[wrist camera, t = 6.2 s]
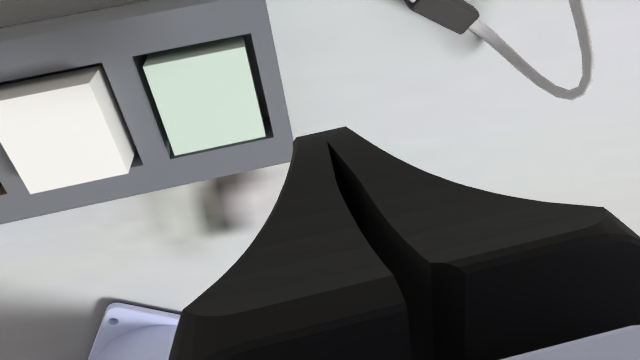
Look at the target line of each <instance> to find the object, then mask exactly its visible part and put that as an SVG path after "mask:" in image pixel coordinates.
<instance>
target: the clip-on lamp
mask: <svg viewBox="0 0 640 360" xmlns="http://www.w3.org/2000/svg"><path fill="white" fill-rule="evenodd" d="M404 1H405V4H406V5H407V6H408V7H409V9H411V10H412V11H414V12H416V13H418V14H420V15H422V16H424V17H426V18H428V19H430V20H432V21H434V22H436V23H438V24H440V25H442V26H444V27H446V28H448V29H450V30H452V31H454V32H456V33H458V34H463V33H464V32H465V31H466V30H467V29H469V30H471V31H473V32H474V33H475V34H477V35H478V36H480V37H481V38H482V39H484V40H485V41H486V42H487V43H488V44H489V45H491V46H492V47H493V48H494V49H495V50H496V51H497V52H499V53H500V54H501V55H502V56H503V57H504V58H505V59H506V60H507V61H509V62H510V63H511V64H512V65H513V66H514V67H515V68H516V69H517V70H519V71H520V72H521V73H522V74H524V75H525V76H526V77H527V78H529V79H530V80H531V81H532V82H533V83H535V84H536V85H537V86H539V87H540V88H542V89H544V90H545V91H547V92H549V93H550V94H552V95H554V96H555V97H559V98H564V99H569V100H574V99H577V98H579V97H581V96H583V95H585V94H586V92H587V90H588V89H589V87H590V85H591V83H592V81H593V69H594V55H593V49H592V42H591V36H590V30H589V26H588V22H587V18H586V14H585V10H584V6H583V2H582V0H569V3H570V7H571V11H572V15H573V18H574V22H575V26H576V30H577V34H578V39H579V44H580V48H581V53H582V70H583V75H582V78H581V81H580V83H579V86H578V87H576V88H574V89H571V90H567V89H564V88H561V87H558V86H556V85H554V84H553V83H552V82H550V81H549V80H547V79H546V78H545V77H543V76H542V75H540V74H539V73H538V72H537V71H536V70H535V69H534V68H532V67H531V66H530V65H529V64H528V63H527V62H526V61H525V60H524V59H522V58H521V57H520V56H519V55H518V54H517V53H516V52H515V51H514V50H513V49H512V48H511V47H510V46H509V45H508V44H507V43H506V42H505V41H504V40H503V39H501V38H500V37H499V36H498V35H497V34H496V33H495V32H494V31H493V30H492V29H491V28H489V27H488V26H487V25H485V24H484V23H483V22H482V21H480V20H479V19H478V18H479V13H478V11H477V10H476V9H475V8H474V7H473V6H472V5H470V4H468V3H467V2H465V1H464V0H404Z"/></svg>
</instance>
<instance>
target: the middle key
mask: <svg viewBox="0 0 640 360" xmlns="http://www.w3.org/2000/svg"><path fill="white" fill-rule="evenodd" d="M0 143H1V144H2V146H3V148H4V150H5V151H6V153H7V155H8V156H9V158H10V160H11V162H12V163H13V165H14V167H15V168H16V170H17V172H18V174H19V175H20V177H21V179H22V181H23V182H24V184H25V186H26V187H27V189H28V191H29V193H30V194H34V193H39V192H43V191H48V190H53V189H57V188H62V187H67V186H72V185H76V184H81V183H86V182H90V181H95V180H100V179H104V178H109V177H114V176H119V175H123V174H128V172H129V169H130V166H131V163H132V160H133V157H134V154H135V151H136V149H135V146H134V144H133V142H132V139H131V137H130V134H129V132H128V129H127V127H126V124H125V122H124V120H123V117H122V115H121V112H120V110H119V107H118V105H117V102H116V100H115V98H114V95H113V93H112V90H111V88H110V85H109V83H108V80H107V78H106V76H105V73H104V71H103V68H102V66H96V67H91V68H85V69H80V70H75V71H70V72H65V73H60V74H55V75H50V76H45V77H40V78H34V79H29V80H24V81H19V82H14V83H9V84H4V85H1V86H0Z"/></svg>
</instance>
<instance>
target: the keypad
mask: <svg viewBox="0 0 640 360" xmlns="http://www.w3.org/2000/svg"><path fill="white" fill-rule="evenodd" d="M239 35H243V36H244V41H245V45H246V49H247V53H248V58H249V62H250V66H251V71H252V75H253V79H254V84H255V88H256V92H257V97H258V101H259V105H260V109H261V114H262V118H263V124H264V130H265V137H261V138H256V139H251V140H246V141H242V142H237V143H232V144H228V145H223V146H218V147H213V148H209V149H204V150H199V151H194V152H190V153H185V154H180V155H176V156H175V155H174V152H173V149H172V147H171V144H170V141H169V138H168V136H167V133H166V130H165V127H164V124H163V122H162V119H161V116H160V113H159V111H158V108H157V105H156V102H155V99H154V97H153V94H152V91H151V88H150V86H149V83H148V80H147V77H146V74H145V72H144V69H143V65H144V63H145V61H146V59H147V56H148V54H149V53H152V52H157V51H163V50H168V49H173V48H178V47H183V46H188V45H193V44H198V43H203V42H209V41H214V40H219V39H224V38H229V37H234V36H239ZM96 66H102V68H103V71H104V73H105V76H106V78H107V80H108V83H109V85H110V88H111V90H112V93H113V95H114V98H115V100H116V102H117V105H118V107H119V110H120V112H121V115H122V117H123V120H124V122H125V124H126V127H127V129H128V132H129V134H130V137H131V139H132V142H133V144H134V146H135V149H136V151H135V154H134V157H133V160H132V163H131V166H130V169H129V172H128V174H123V175H119V176H114V177H109V178H104V179H100V180H95V181H90V182H86V183H81V184H76V185H72V186H67V187H62V188H57V189H53V190H48V191H43V192H39V193H34V194H30V193H29V191H28V189H27V187H26V186H25V184H24V182H23V181H22V179H21V177H20V175H19V174H18V172H17V170H16V168H15V167H14V165H13V163H12V162H11V160H10V158H9V156H8V155H7V153H6V151H5V150H4V148H3V146H2V144H1V143H0V224H5V223H9V222H14V221H18V220H23V219H28V218H32V217H37V216H42V215H46V214H51V213H55V212H60V211H65V210H69V209H74V208H79V207H83V206H88V205H93V204H97V203H102V202H106V201H111V200H116V199H120V198H125V197H130V196H134V195H139V194H143V193H148V192H153V191H157V190H162V189H167V188H171V187H176V186H181V185H185V184H190V183H194V182H199V181H204V180H208V179H213V178H218V177H222V176H227V175H231V174H236V173H241V172H245V171H250V170H255V169H259V168H264V167H268V166H273V165H278V164H282V163H287V162H291V159H292V153H293V136H292V131H291V126H290V121H289V116H288V111H287V106H286V101H285V96H284V91H283V86H282V81H281V76H280V71H279V66H278V61H277V56H276V51H275V46H274V41H273V36H272V31H271V26H270V21H269V16H268V11H267V6H266V1H265V0H147V1H142V2H136V3H131V4H126V5H120V6H115V7H110V8H104V9H99V10H94V11H89V12H83V13H78V14H73V15H67V16H62V17H57V18H51V19H46V20H41V21H35V22H30V23H25V24H19V25H14V26H9V27H3V28H0V86H1V85H4V84H9V83H14V82H19V81H24V80H29V79H34V78H40V77H45V76H50V75H55V74H60V73H65V72H70V71H75V70H80V69H85V68H91V67H96Z"/></svg>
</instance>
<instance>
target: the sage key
mask: <svg viewBox="0 0 640 360" xmlns="http://www.w3.org/2000/svg"><path fill="white" fill-rule="evenodd" d="M143 69H144V72H145V74H146V77H147V80H148V83H149V86H150V88H151V91H152V94H153V97H154V99H155V102H156V105H157V108H158V111H159V113H160V116H161V119H162V122H163V124H164V127H165V130H166V133H167V136H168V138H169V141H170V144H171V147H172V149H173V152H174V155H175V156H176V155H180V154H185V153H190V152H194V151H199V150H204V149H209V148H213V147H218V146H223V145H228V144H232V143H237V142H242V141H246V140H251V139H256V138H261V137H265V130H264V124H263V118H262V114H261V109H260V105H259V101H258V97H257V92H256V88H255V84H254V79H253V75H252V71H251V66H250V62H249V58H248V53H247V49H246V45H245V41H244V36H243V35H239V36H234V37H229V38H224V39H219V40H214V41H209V42H203V43H198V44H193V45H188V46H183V47H178V48H173V49H168V50H163V51H157V52H152V53H149V54H148V56H147V59H146V61H145V63H144V65H143Z"/></svg>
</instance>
